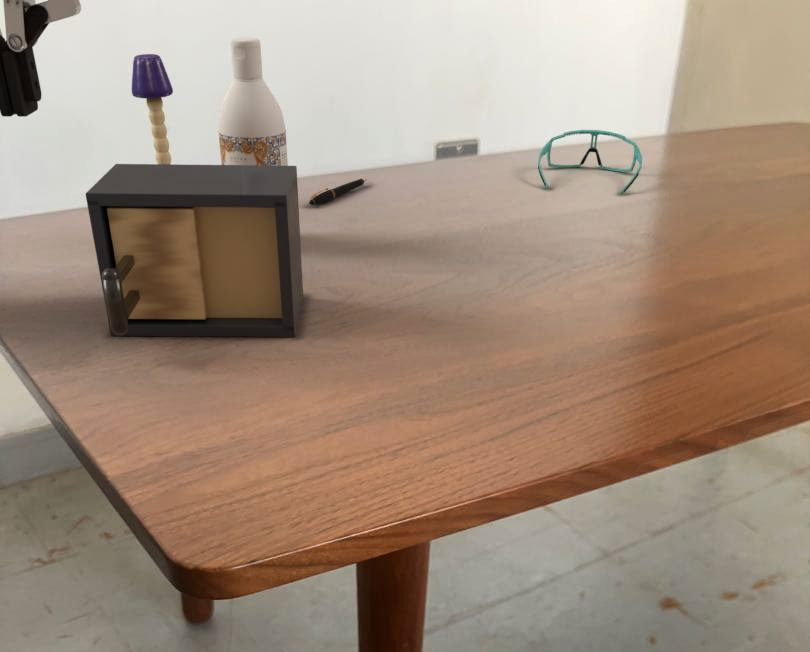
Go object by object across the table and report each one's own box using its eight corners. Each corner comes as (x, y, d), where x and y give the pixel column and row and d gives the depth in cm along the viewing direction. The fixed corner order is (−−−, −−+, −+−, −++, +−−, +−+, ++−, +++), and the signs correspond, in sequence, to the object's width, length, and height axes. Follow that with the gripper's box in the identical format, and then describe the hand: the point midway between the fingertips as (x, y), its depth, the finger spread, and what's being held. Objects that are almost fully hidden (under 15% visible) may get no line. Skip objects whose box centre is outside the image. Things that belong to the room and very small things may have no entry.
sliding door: (106, 349, 74) (84, 231, 69) (127, 315, 80) (108, 205, 75) (192, 349, 74) (178, 232, 69) (207, 316, 80) (194, 206, 75)
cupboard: (110, 336, 80) (84, 193, 73) (136, 295, 88) (115, 163, 81) (294, 337, 80) (286, 195, 73) (303, 296, 88) (296, 165, 82)
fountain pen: (364, 183, 124) (364, 171, 123) (371, 184, 124) (371, 172, 123) (305, 208, 114) (304, 195, 113) (313, 209, 113) (312, 197, 113)
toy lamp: (173, 213, 111) (153, 59, 101) (140, 209, 112) (118, 56, 103) (194, 203, 115) (177, 53, 105) (162, 199, 116) (142, 51, 106)
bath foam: (217, 247, 100) (195, 40, 89) (248, 229, 106) (231, 33, 94) (273, 255, 99) (259, 45, 87) (302, 237, 104) (292, 36, 92)
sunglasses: (640, 168, 132) (645, 132, 129) (636, 206, 121) (641, 168, 118) (542, 162, 135) (546, 126, 132) (530, 198, 124) (533, 160, 121)
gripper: (92, -216, 57) (138, 104, 68) (-149, -219, 57) (-65, 103, 68) (57, -230, 51) (113, 124, 62) (-213, -233, 51) (-110, 123, 62)
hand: (20, 112), depth 65 cm, fingers closed
